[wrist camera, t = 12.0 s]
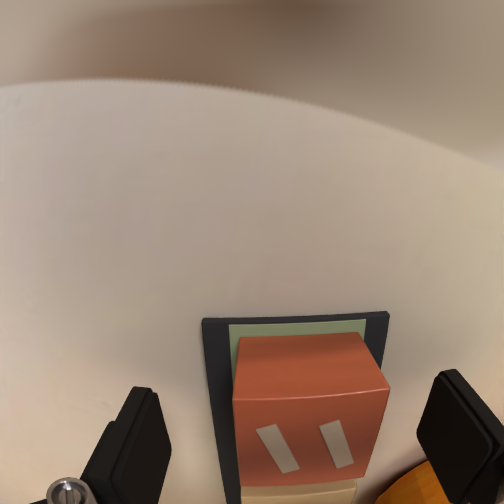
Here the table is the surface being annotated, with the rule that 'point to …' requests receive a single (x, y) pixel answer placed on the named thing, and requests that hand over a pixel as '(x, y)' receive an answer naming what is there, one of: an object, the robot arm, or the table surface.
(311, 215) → the table surface
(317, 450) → the striped orange cube
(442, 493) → the fruit
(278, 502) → the pair of dash-marked blocks
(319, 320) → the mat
